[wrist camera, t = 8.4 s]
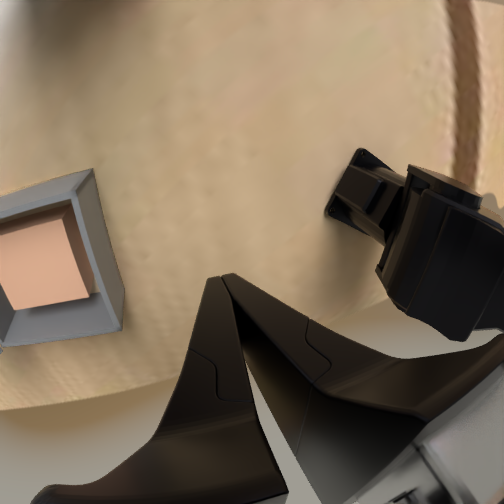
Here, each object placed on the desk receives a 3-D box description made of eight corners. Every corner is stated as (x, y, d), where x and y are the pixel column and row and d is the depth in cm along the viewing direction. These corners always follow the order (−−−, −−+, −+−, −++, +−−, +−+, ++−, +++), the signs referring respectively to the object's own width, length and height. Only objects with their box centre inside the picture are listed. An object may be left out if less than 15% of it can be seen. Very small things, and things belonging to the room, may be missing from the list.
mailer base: (93, 168, 18) (75, 189, 13) (124, 288, 23) (122, 330, 19) (-25, 205, 15) (-56, 232, 11) (17, 308, 20) (2, 347, 16)
